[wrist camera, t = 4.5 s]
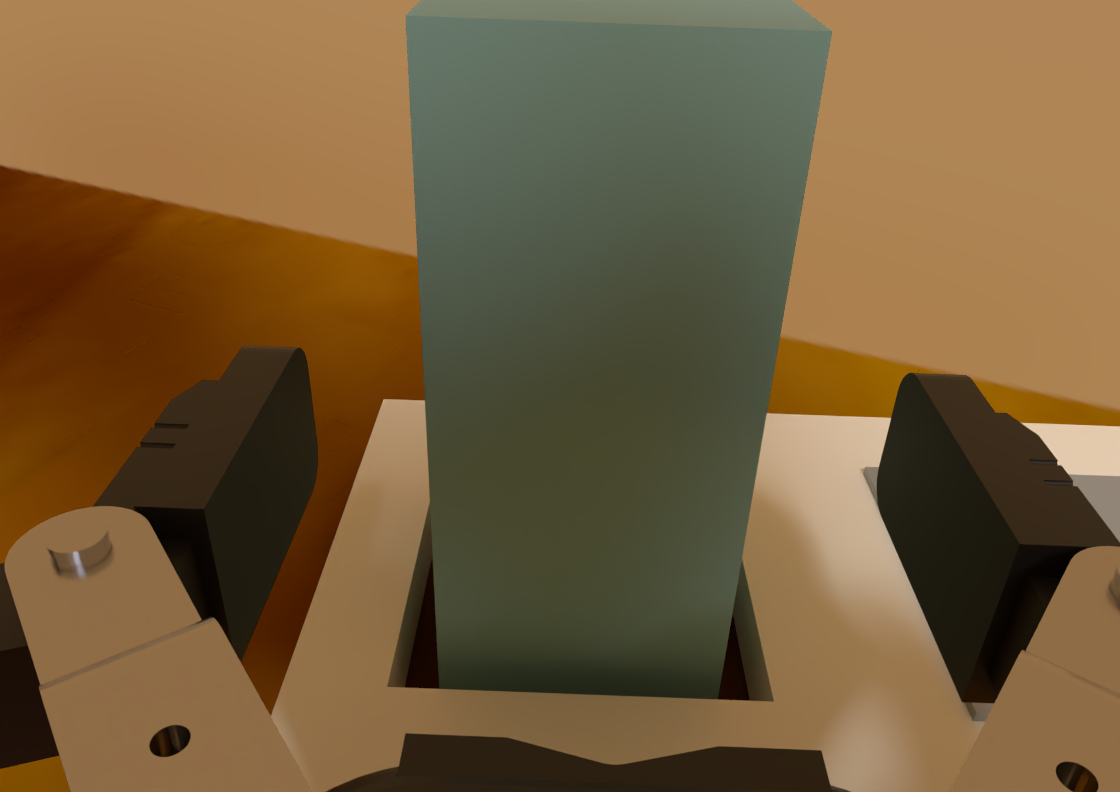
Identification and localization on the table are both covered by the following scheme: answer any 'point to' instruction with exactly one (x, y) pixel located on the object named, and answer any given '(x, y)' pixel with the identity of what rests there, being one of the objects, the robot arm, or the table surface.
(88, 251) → the table surface
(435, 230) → the teal block
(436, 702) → the puzzle board
